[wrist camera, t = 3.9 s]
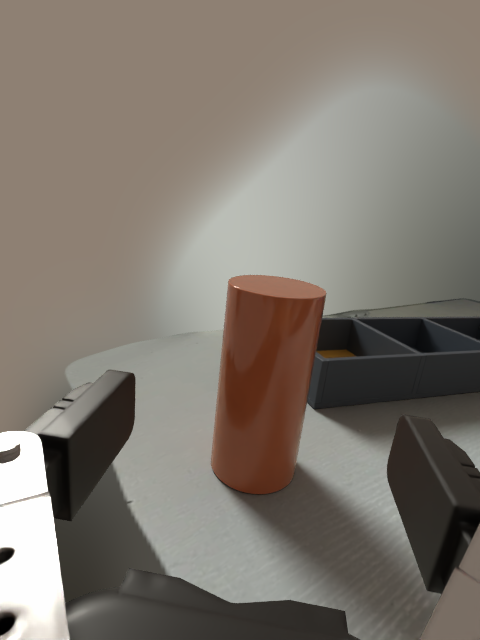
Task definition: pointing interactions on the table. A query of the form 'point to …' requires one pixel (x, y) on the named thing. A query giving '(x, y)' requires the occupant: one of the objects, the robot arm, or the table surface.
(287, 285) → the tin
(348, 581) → the table surface
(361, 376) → the gray storage bin
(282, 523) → the table surface
